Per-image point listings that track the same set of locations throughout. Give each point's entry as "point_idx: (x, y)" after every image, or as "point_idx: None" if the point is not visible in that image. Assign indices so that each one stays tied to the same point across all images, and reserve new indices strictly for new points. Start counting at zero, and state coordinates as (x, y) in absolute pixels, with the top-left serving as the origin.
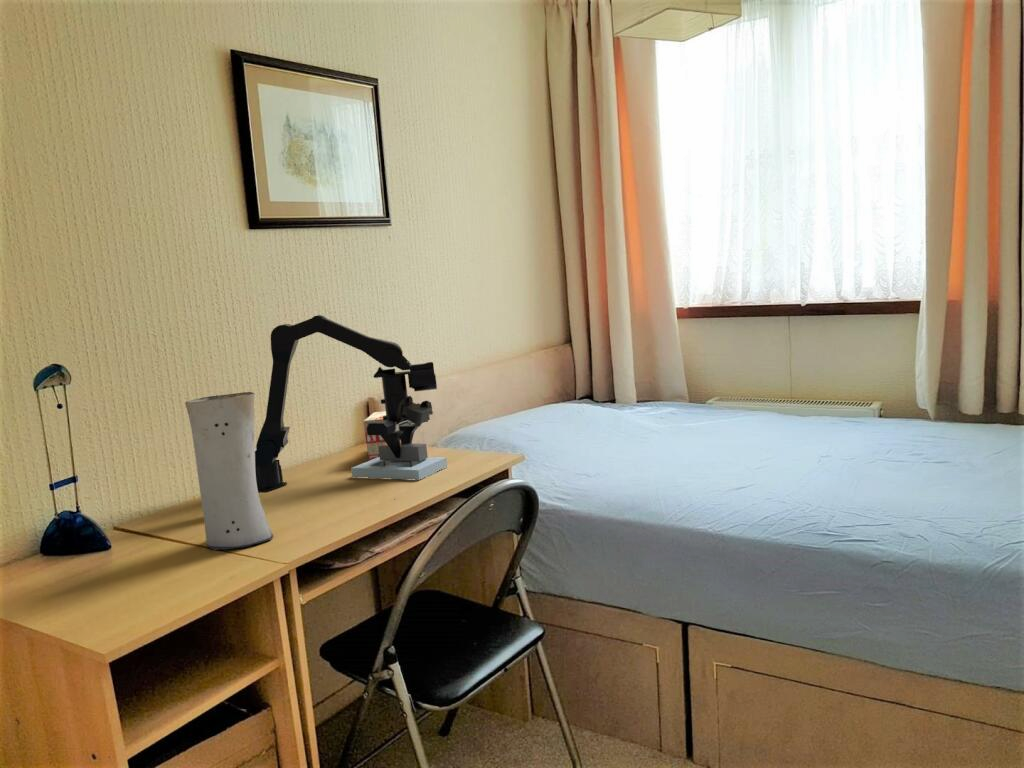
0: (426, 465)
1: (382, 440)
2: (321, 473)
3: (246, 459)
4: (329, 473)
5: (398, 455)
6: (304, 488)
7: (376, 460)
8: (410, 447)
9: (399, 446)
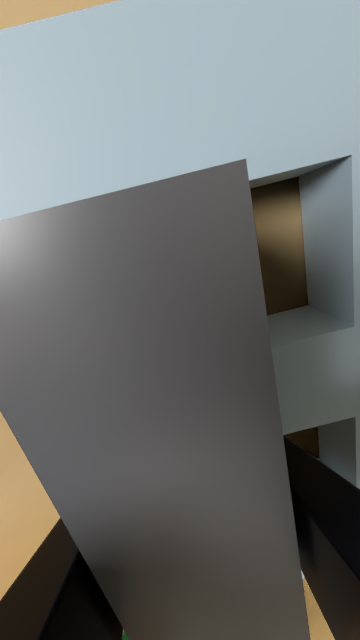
0: (251, 9)
1: None
2: (322, 633)
3: None
4: (316, 614)
5: None
6: None
7: None
8: (268, 347)
9: (335, 508)
